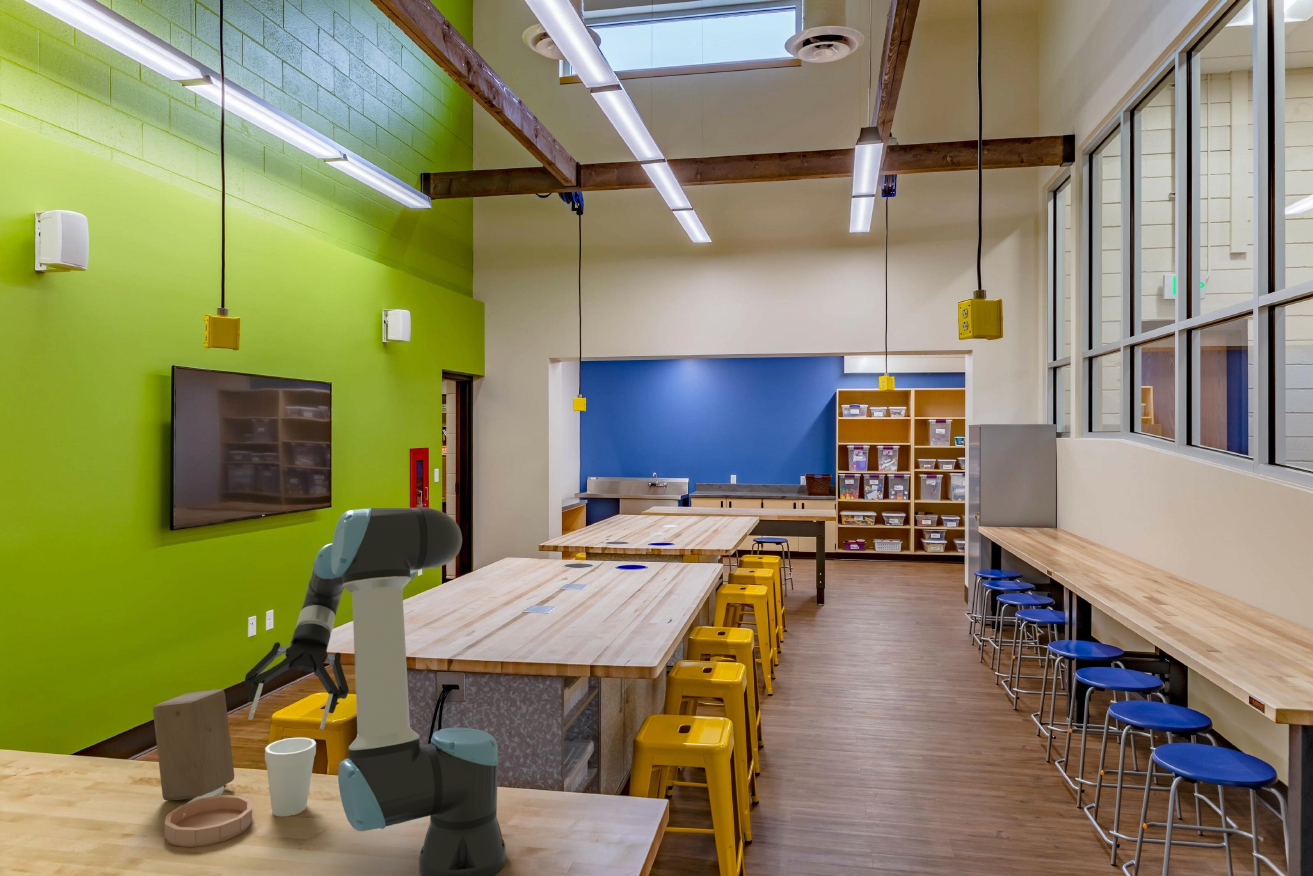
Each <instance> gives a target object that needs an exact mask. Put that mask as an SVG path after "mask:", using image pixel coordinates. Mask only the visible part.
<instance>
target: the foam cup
mask: <svg viewBox="0 0 1313 876" xmlns="http://www.w3.org/2000/svg"><path fill="white" fill-rule="evenodd" d="M316 754H317V742H316V741H315V739H312V738H309V737H290V738H289V737H287V738H283V739H281V740H280V739H279V740H276V741H274V742H271V743H270V744H268V745H267V746H266V747H265V748H264V762H265V765H266V773H267V779H268V781H267V782H268V790H269V797H270V807H271V812H272V814H273V816H275V817H276V816H277V817H284V818H286V817H291V815H292V816H295V815H298V814H301V813H302V812H304V811H305V810H306V808H307V805H308V799H309V793H310V786H311V779H312V773H313V768H314V762H315V756H316Z"/></svg>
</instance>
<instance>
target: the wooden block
mask: <svg viewBox="0 0 1313 876" xmlns="http://www.w3.org/2000/svg"><path fill="white" fill-rule="evenodd" d="M152 713H153V721H154V723H153V724H154V731H155V740H156V749H157V758H158V767H159V774H160V775H159V777H160V784H161V785H160V786H161V792H162V793H161V794H162V799H163V800H164V801H179V800H190V799H191V800H192V799H194V798H196V797H197V796H202V795H205V794H207V793H210V792H213V791H215V790H217V789H218V788H220V787H222V786H224V785H226V786H227V785H228V784H230V783H231V782H233V780H235V768H234V760H233V750H232V744H231V734H230V726H229V717H228V709H227V700H226V693H225V691H224V689H211V690H203V691H202V690H201V691H195V692H194V691H193V692H187V693H184V694H181V695H178V696H176V697H173V698H171V699H168V700H165V701H163V702H160V703H158V704H156V705H154V706H153V708H152Z"/></svg>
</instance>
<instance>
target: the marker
mask: <svg viewBox="0 0 1313 876" xmlns="http://www.w3.org/2000/svg"><path fill="white" fill-rule="evenodd" d="M226 787H227V784H226V785H224V786H222V787H220V788H218V789H217V790H215V791H213V792H210V793H207V794H205V795H202V796H197V797H196V798H192V799H191V800H189V801H188V802H186V803H185V804H187V803H189V802H192V801H195V800H198V799H202V798H208V797H214V796H220V795H223V793H224V791H225V788H226ZM185 815H186V814H185V813H183V818H184V816H185Z"/></svg>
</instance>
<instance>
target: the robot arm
mask: <svg viewBox="0 0 1313 876" xmlns="http://www.w3.org/2000/svg"><path fill="white" fill-rule="evenodd" d="M457 523H458V522H456V520H454V518H452V517H451V516H450V515H449V514H447V513H445V512H443V511H441V510H439V509H435V508H432V507H367V508H361V509H359V508H358V509H351V510H347V511H345V512H344V513H342V514H341V516H340V517H339V519H338V521H337V523H336V525H335V530H334V533H333V538H332V543H328V544H326V545H324V546H323V547H321V548H320V549H319V551H318V552H317V555H316V557H315V560H314V562H313V563H312V564H313V566H312V571H311V575H310V578H309V582H308V585H307V589H306V593H305V596H304V599H303V603H302V606H301V607H302V608H301V609H300V611H299V615H298V618H297V622H296V625H295V629H294V632H293V635H292V637H291V638H292V639H291V642H290V645H288V646H282V645H281V643H280V641H279V642H278V641H277V642H274V643H273V646H272V648H271V650H270V651H269V652H268V653H267V654H266V655H265V656H264V657H263V658H261V659H260V660H259V661H258V662H257V663H256V664H255V665H254V666H253V667H252V668H251V669H250V670H249V671H248V672H247V673H246V674H245V676H244V684H245V685H249V686H251V688H250V691H249V694H248V698H247V700H248V702H249V703H252V704H251V708H250V710H249V714H248V720H249V721H253V718H254V715H255V712H256V710H257V706H258V703H259V700H260V697H261V694H262V691H263V686H264V685H265V684H266V683H268V682H270V681H271V680H273V679H275V678H276V677H277V676H279V675H280V674H282V673H284V672H286V671H289V670H291V669H293V670H294V671H303V672H306V673H310V672H313V674H314V675H315V676H316V677H317V678H318V680H319V681H320V682H321V685H322V686H323V687H324V689H325V690H326V692H327V694H328V696H327V700H326V704H325V707H324V711H323V714H322V715H323V716H322V719H321V722H320V723H321V724H320V727H319V730H324V729H325V726H326V724H327V721H328V717H329V714H334V713H335V710H336V709H337V704H338V700H339V699H343V700H346V698H347V697H348V695H349V692H350V688H349V685H348V683H347V680H346V676H345V673H344V670H343V667H342V664H341V658H342V654H341V652H336V653H335V654H331V653H330V654H328V652H327V651H328V648H329V643H330V640H331V634H332V632H333V628H334V625H335V621H336V617H337V613H338V612H337V611H338V608H339V605H340V602H341V598H342V595H343V593H344V589H345V590H346V591H348V592H349V593H350V594H351V596H352V597H351V599H352V600H351V601H352V622H353V628H352V629H353V651H354V672H355V675H354V678H355V697H356V698H355V700H356V701H355V702H356V703H355V704H356V725H357V726H356V728H357V736H356V738H355V739H354V740H353V741H352V742H351V744H350V745H349V746H348V758H345V759H343V760H342V761H341V762H340V763H339V765H338V769H337V771H338V775H337V777H338V778H337V780H338V789H339V795H340V798H341V799H340V800H341V803H342V807H343V811H344V813H345V816H346V819H347V821H348V823H349V824H350V826H351V827H352V828H353V829H354V830H356V831H358V832H367V831H372V830H377V829H380V830H384V829H385V828H386V827H389V826H394V825H398V824H402V823H406V822H410V821H414V820H418V819H422V818H427V817H429V818H430V819H429V820H430V821H429V825H428V828H427V831H426V835H425V838H424V841H423V842H424V843H423V846H422V847H421V849H420V851H419V857H418V859H419V860H418V871H419V874H420V876H494V875H496V874H497V873H499V872H500V871H501V870H502V868H504V866H505V864H506V857H507V856H506V852H507V848H506V842H505V840H504V839H503V835H502V830H501V827H500V824H499V821H498V816H497V815H498V814H497V808H498V807H497V805H498V778H499V777H498V775H499V774H498V772H499V769H498V768H499V763H500V760H499V755H498V754H499V752H498V743H497V740H496V739H495V737H494V736H493V735H491V734H490V733H488V732H486V731H484V730H480V729H476V728H470V727H446V728H441V729H439V730H438V731H437V730H436V731H434V732H433V733H432V736H431V739H430V743H428V744H424V745H421V739H420V734H419V733H417V732H416V731H414V730H413V729H412V727H411V723H410V706H409V687H408V686H409V685H408V684H409V683H408V671H407V667H408V666H407V652H406V650H407V648H406V633H405V630H406V629H405V615H404V614H405V613H404V595H403V594H404V593H403V591H404V588H405V587H406V586H407V585H408V584H409V582H410V581H412V580H414V578H415V577H416V575H417V572H419V571H421V570H426V569H435V568H439V567H443V566H445V565H447V564H449V563H450V562H452V561H453V560H454V559H455V558H456V557H457V556H458V555H459V553H460V551H461V548H462V544H463V535H462V531H461V528H460V526H459V525H458V524H457ZM283 654H285V658H284V659H283V660H282V661H280V662H279V663H277V664H275V665H274V666H272V667H270V668H268V667H269V666H270V665H271V663H273V661H275V659H276V657H277V658H279V657H280V656H282V655H283ZM326 661H327V662H328V663H329V665H330V666H331V667H332V672H333V676H334V679H335V681H336V683H335V681H334V680H333V679H332V677H331V676H330V674H329V673H328V671H327V669H326V668H325V664H324V663H325V662H326ZM267 668H268V669H267ZM265 669H267V670H266V671H265ZM263 671H264V672H263ZM262 672H263V673H262ZM336 684H337V685H336Z"/></svg>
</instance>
